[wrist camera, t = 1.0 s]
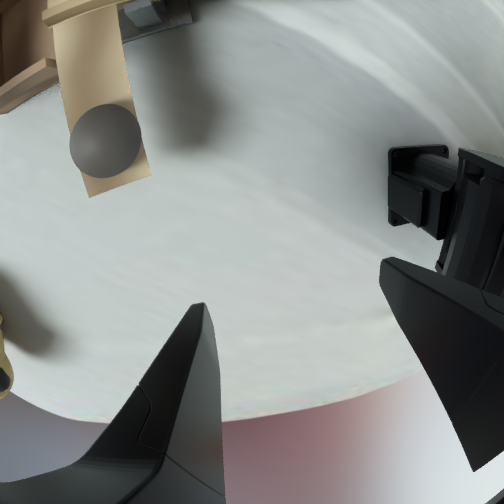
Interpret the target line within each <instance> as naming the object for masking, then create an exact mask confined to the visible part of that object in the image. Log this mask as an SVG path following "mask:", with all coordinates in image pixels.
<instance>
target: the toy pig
mask: <svg viewBox="0 0 504 504" xmlns="http://www.w3.org/2000/svg"><path fill="white" fill-rule="evenodd" d="M1 323H2V315H1V314H0V325H1ZM13 380H14V374H13V369H12V366H11V363H10V361H9V359H8V357H7V356H6V354H5V351H4V339H3V334H2V331H1V329H0V399H2V398H4V397H5V396H6V395H7V394H8V392H9V391H10V389H11V387H12V385H13Z"/></svg>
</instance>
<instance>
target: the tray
mask: <svg viewBox="0 0 504 504" xmlns="http://www.w3.org/2000/svg"><path fill="white" fill-rule="evenodd" d="M47 9H48V6H47V0H0V115H1V114H6V113H8V112H10V111H11V110H13V109H14V108H16V107H17V106H19V105H20V104H22V103H24V102H25V101H27V100H28V99H30V98H32V97H33V96H35V95H37V94H38V93H40V92H42V91H44V90H45V89H47V88H49V87H51V86H53V85H55V84H56V83H58V82H59V76H58V70H57V63H56V55H55V46H54V36H53V33H52V32H51V31H50V30H49V29H48V26H47V25H46V24H45V23H44V22H43V21H42V11H44V10H47Z"/></svg>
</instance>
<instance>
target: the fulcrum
mask: <svg viewBox="0 0 504 504" xmlns="http://www.w3.org/2000/svg"><path fill="white" fill-rule="evenodd" d="M117 13H118V20H119V27H120V34H121V40H122V43H125V42H128V41H131V40H134V39H137V38H140V37H143V36H146V35H149V34H153V33H156V32H160V31H163V30H167V29H171V28H175V27H179V26H183V25H187V24H192V23H193V22H192V17H191V12H190V6H189V1H188V0H160V1H155V2H153V0H136V1H133V2H130V3H127V4H124V9H121V10H117Z"/></svg>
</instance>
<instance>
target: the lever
mask: <svg viewBox="0 0 504 504" xmlns="http://www.w3.org/2000/svg"><path fill="white" fill-rule="evenodd" d="M133 1H136V0H47V6H48V9H47V10H44V11H42V21H43V22H44V23H45V24H46V25H47V26H48V29H49V30H50V31H51V32H52V33H53V36H54V46H55V55H56V63H57V70H58V76H59V82H60V88H61V94H62V99H63V104H64V109H65V113H66V118H67V122H68V127H69V131H70V135H71V136H70V153H71V156H72V159H73V161H74V163H75V164H76V166H77V167H78V168H79V169H80V171H81V174H82V177H83V180H84V184H85V187H86V190H87V193H88V196H89V198H90V197H93V196H95V195H98V194H100V193H103V192H106V191H108V190H111V189H114V188H116V187H119V186H122V185H124V184H127V183H130V182H133V181H136V180H139V179H142V178H145V177H148V176H151V172H150V168H149V164H148V161H147V157H146V153H145V149H144V145H143V141H142V137H141V129H140V126H139V123H138V121H137V116H136V112H135V108H134V103H133V99H132V94H131V89H130V84H129V79H128V74H127V69H126V64H125V58H124V52H123V46H122V40H121V34H120V27H119V20H118V13H117V10H121V9H124V4H127V3H130V2H133ZM155 1H160V0H153V2H155Z"/></svg>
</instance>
